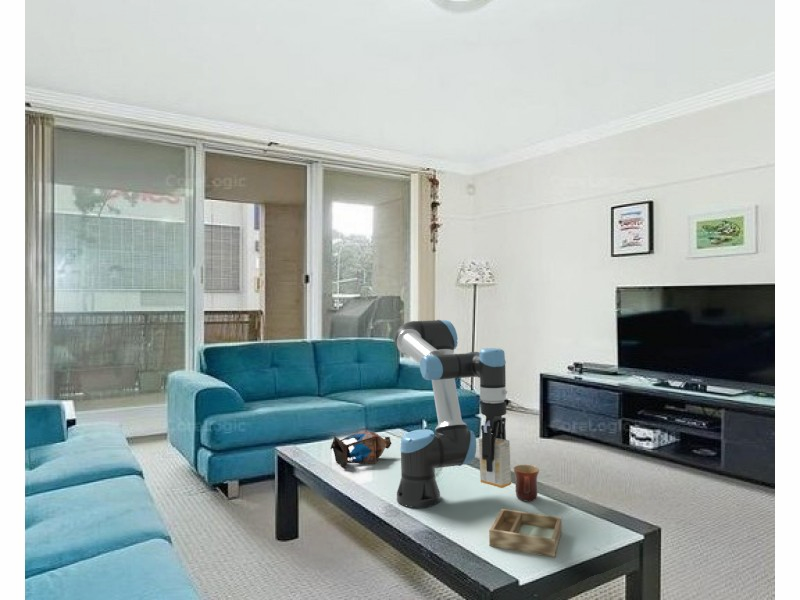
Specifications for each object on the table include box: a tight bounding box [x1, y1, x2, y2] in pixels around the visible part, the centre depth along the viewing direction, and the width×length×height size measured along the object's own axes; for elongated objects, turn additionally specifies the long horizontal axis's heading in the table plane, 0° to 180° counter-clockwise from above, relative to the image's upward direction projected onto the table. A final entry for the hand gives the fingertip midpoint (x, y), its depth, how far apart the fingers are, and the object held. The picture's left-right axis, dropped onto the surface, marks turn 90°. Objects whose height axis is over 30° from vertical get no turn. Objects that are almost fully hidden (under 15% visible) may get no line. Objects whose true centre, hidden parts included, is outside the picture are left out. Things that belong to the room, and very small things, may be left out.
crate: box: [488, 508, 563, 558], centre depth 157 cm, size 18×16×4 cm
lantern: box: [329, 428, 392, 470], centre depth 230 cm, size 16×16×25 cm
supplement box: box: [478, 437, 512, 489], centre depth 160 cm, size 8×5×13 cm, turn 42°
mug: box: [513, 464, 540, 502], centre depth 185 cm, size 12×9×10 cm
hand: (495, 478), depth 160 cm, fingers closed on supplement box, 6 cm apart
